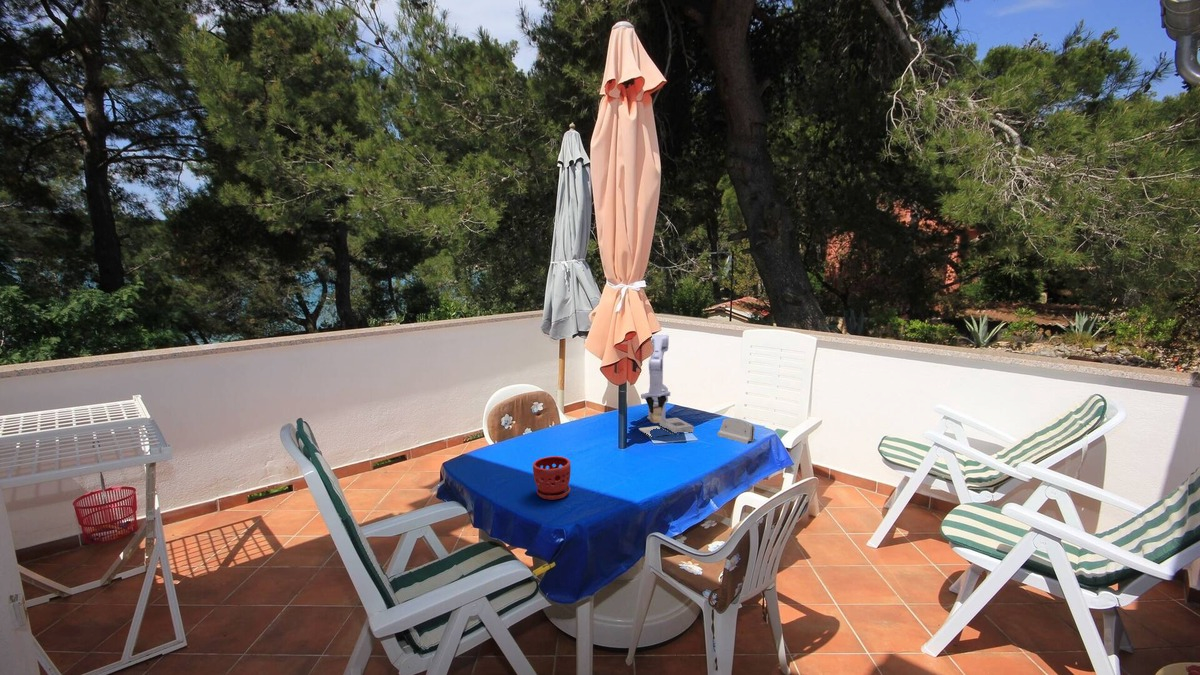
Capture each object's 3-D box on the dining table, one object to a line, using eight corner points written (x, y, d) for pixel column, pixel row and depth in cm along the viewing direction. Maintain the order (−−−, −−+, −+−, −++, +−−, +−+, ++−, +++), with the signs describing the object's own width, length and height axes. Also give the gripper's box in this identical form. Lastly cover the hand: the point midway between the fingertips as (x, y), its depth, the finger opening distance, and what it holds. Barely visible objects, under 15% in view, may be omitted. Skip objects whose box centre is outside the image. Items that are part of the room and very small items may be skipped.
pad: (638, 429, 268) (638, 428, 267) (657, 427, 271) (657, 425, 271) (651, 437, 255) (651, 436, 255) (670, 435, 258) (670, 434, 258)
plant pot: (555, 484, 203) (554, 452, 201) (578, 494, 193) (578, 461, 192) (526, 494, 194) (525, 461, 192) (549, 506, 184) (548, 471, 183)
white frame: (659, 425, 274) (659, 419, 273) (677, 423, 277) (677, 417, 277) (674, 434, 259) (674, 428, 258) (693, 432, 262) (693, 426, 262)
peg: (650, 421, 262) (650, 406, 261) (657, 420, 264) (657, 405, 263) (653, 423, 259) (653, 408, 258) (661, 422, 260) (661, 407, 259)
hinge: (716, 435, 257) (721, 414, 258) (722, 436, 260) (726, 416, 261) (747, 444, 245) (752, 421, 246) (753, 445, 248) (757, 423, 249)
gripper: (645, 387, 252) (645, 415, 254) (673, 384, 258) (673, 412, 259) (639, 383, 259) (639, 412, 261) (666, 381, 264) (666, 408, 266)
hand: (655, 412), depth 261 cm, fingers closed on peg, 4 cm apart
